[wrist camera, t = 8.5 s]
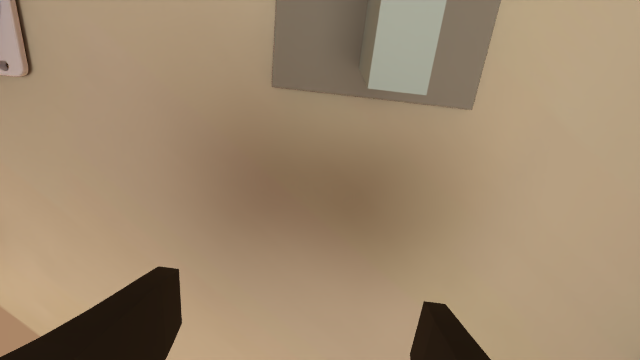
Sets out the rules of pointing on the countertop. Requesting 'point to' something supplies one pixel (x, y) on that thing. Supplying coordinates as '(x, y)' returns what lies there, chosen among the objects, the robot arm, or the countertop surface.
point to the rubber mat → (346, 43)
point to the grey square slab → (400, 44)
